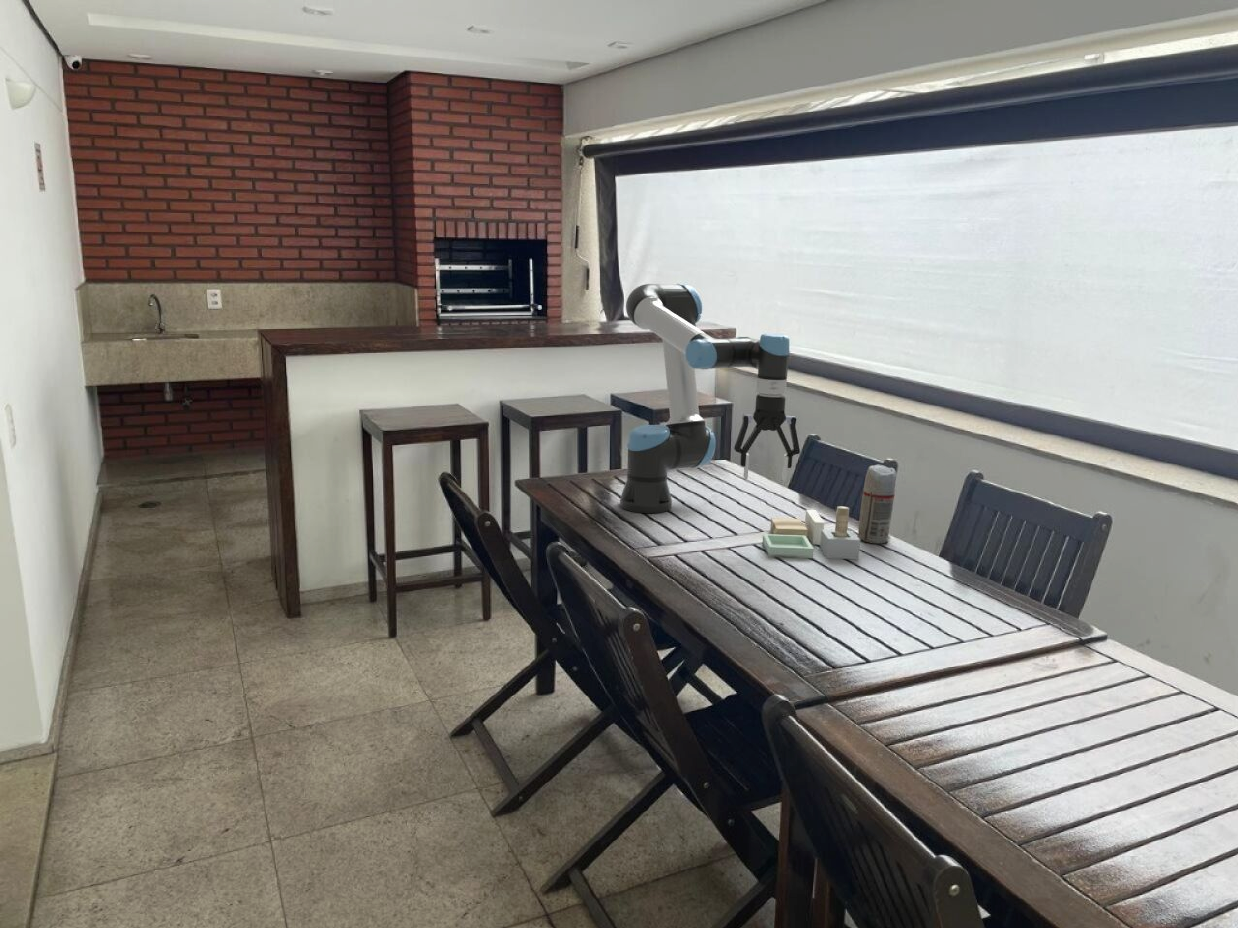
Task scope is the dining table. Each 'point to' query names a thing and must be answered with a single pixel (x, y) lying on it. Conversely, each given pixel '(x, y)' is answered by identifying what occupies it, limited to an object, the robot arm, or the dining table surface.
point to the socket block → (840, 545)
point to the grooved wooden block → (787, 527)
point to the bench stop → (814, 526)
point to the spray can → (877, 504)
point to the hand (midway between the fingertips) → (764, 479)
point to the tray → (787, 546)
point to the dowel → (841, 521)
